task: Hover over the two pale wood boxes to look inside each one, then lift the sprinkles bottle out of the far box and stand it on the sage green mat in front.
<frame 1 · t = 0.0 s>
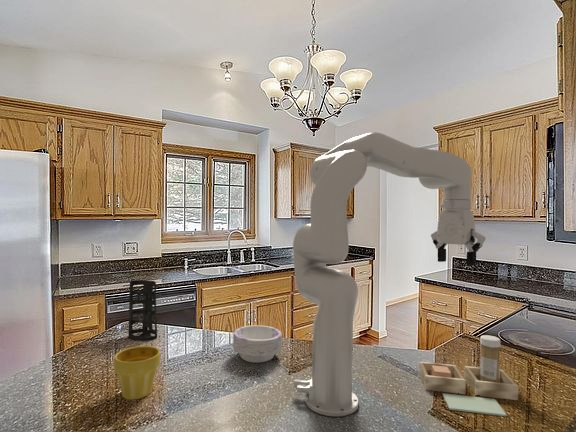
hand: (455, 263, 104), 31 cm above the countertop, tool pointing down, fingers open, 9 cm apart
far box: (489, 388, 91), on the countertop
mat: (472, 405, 83), on the countertop
sprinkles bottle: (489, 389, 91), resting in far box
near box: (440, 383, 93), on the countertop
holder: (142, 337, 125), on the countertop
plant pot: (136, 393, 85), on the countertop
terracotta cube: (440, 376, 93), in the near box
white bowl: (257, 357, 109), on the countertop
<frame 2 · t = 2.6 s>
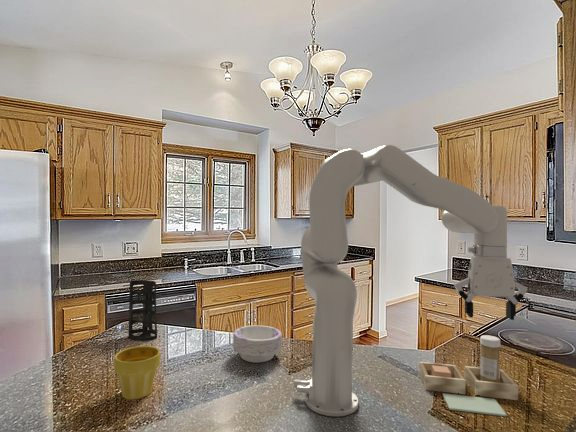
hand: (489, 317, 91), 19 cm above the countertop, tool pointing down, fingers open, 9 cm apart
nothing on the countertop moved.
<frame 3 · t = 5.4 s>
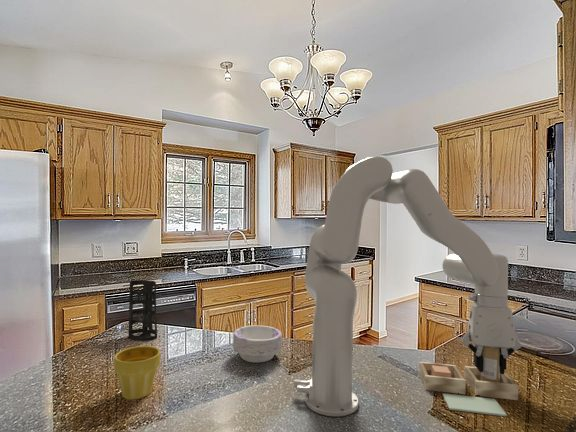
hand: (489, 370, 91), 5 cm above the countertop, tool pointing down, fingers closed on sprinkles bottle, 4 cm apart
sprinkles bottle: (489, 389, 91), resting in far box, touching gripper
everything else where it was.
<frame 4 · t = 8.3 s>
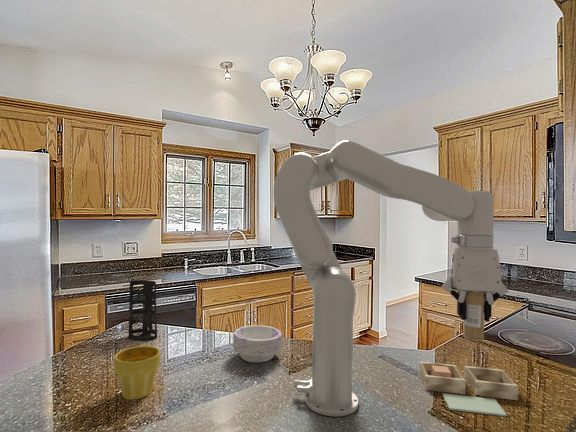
hand: (473, 318, 83), 21 cm above the countertop, tool pointing down, fingers closed on sprinkles bottle, 4 cm apart
sprinkles bottle: (473, 339, 83), point 16 cm above the countertop, touching gripper
everything else where it was.
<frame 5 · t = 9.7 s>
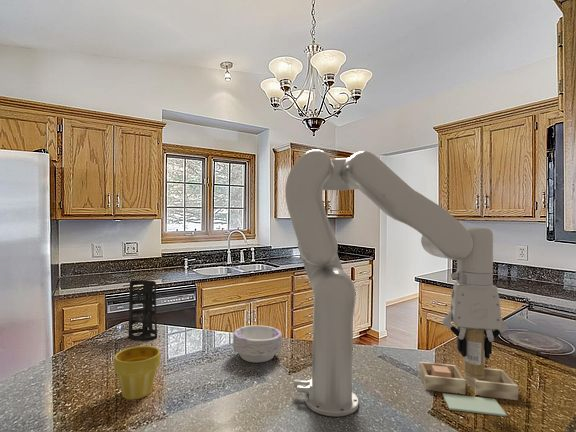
hand: (474, 354, 83), 12 cm above the countertop, tool pointing down, fingers closed on sprinkles bottle, 4 cm apart
sprinkles bottle: (473, 375, 83), point 7 cm above the countertop, touching gripper
everything else where it was.
when the fingers open (7 cm above the countertop, at t = 11.1 s): sprinkles bottle drops 1 cm, resting on mat.
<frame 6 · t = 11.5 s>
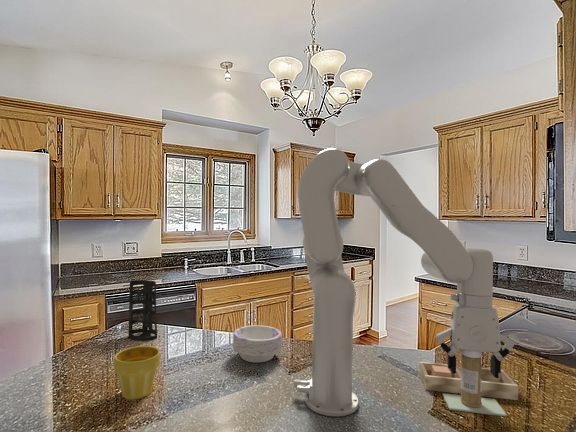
hand: (473, 373, 83), 8 cm above the countertop, tool pointing down, fingers open, 8 cm apart
sprinkles bottle: (470, 404, 83), resting on mat
everything else where it was.
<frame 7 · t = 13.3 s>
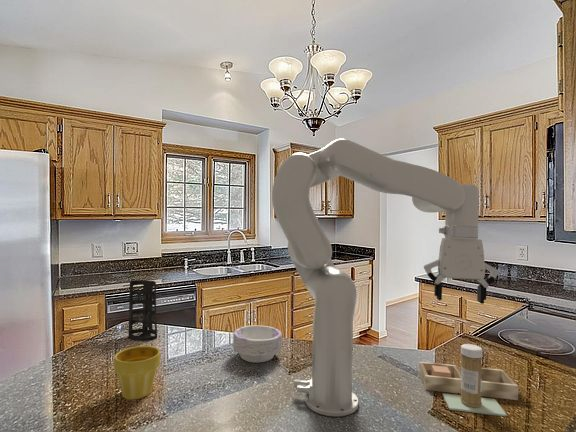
hand: (459, 300, 88), 24 cm above the countertop, tool pointing down, fingers open, 9 cm apart
nothing on the countertop moved.
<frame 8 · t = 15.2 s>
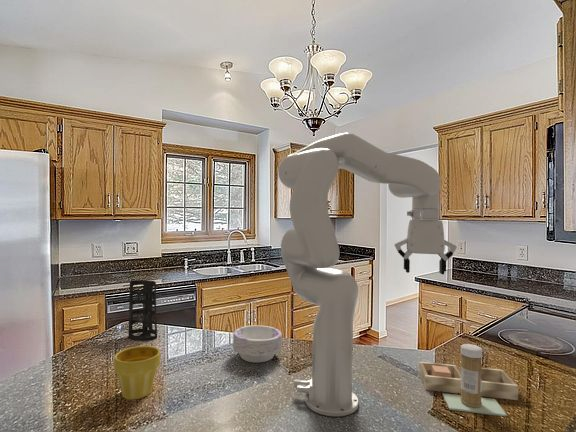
hand: (424, 272, 103), 28 cm above the countertop, tool pointing down, fingers open, 9 cm apart
nothing on the countertop moved.
at the end: sprinkles bottle inside the target area on the mat (0.5 cm from its centre), point 0.2 cm above the mat's base; sprinkles bottle tilted 0°; the gripper is holding nothing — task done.
